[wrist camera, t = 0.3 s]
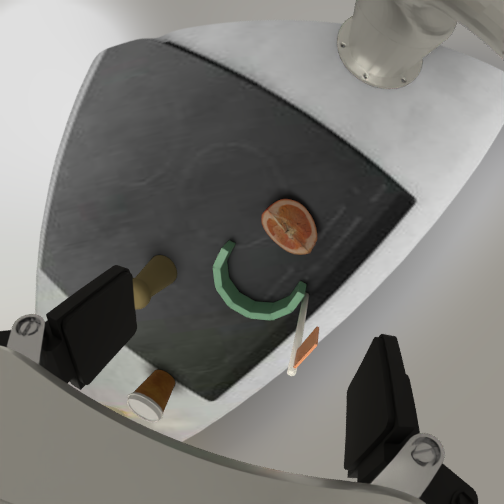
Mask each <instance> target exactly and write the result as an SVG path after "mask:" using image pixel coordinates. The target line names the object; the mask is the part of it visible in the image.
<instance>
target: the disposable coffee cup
mask: <svg viewBox="0 0 504 504" xmlns="http://www.w3.org/2000/svg"><path fill="white" fill-rule="evenodd" d="M174 386H175V380H174V379H173V377H172V376H171V375H170V374H168V373H167V372H165V371H163V370H155V371H154V372H153V373H152V374H151V375H150V376H149V377H148V378H147V379H146V380H145V381H144V382H143V383H142V384H141V385H140V386H139V387H138V388H137V389H136V390H135V391H134V392H133V393H131V394H129V395H128V400H127V405H128V407H129V408H130V409H131V410H132V412H134V413H135V414H136V415H137V416H139V417H140V418H142V419H144V420H146V421H149V422H153V423H155V422H158V421H159V420H161V419H162V418H163V412H164V409H165V407H166V405H167V402H168V400H169V397H170V395H171V393H172V390H173V388H174Z"/></svg>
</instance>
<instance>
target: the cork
mask: <svg viewBox="0 0 504 504" xmlns="http://www.w3.org/2000/svg"><path fill="white" fill-rule="evenodd" d="M176 277H177V270H176V267H175V265H174V263H173V262H172V261H171V260H170V259H169V258H167V257H166V256H163V255H157V256H154V257H153V258H152V259H151V260H150V261H149V263H148V264H147V265H146V266H145V267H144V268H143V269H142V271H141V272H140V273H139V274H138V275H137V276H136V277H135V278H133V290H134V303H135V309H142V308H144V307H145V306H146V305H147V304H148V303H149V301H150V299H151V297H152V296H153V295H155V294H156V293H158V292H159V291H161V290H162V289H164V288H165V287H167V286H168V285H170V284H171V283H173V282H174V281H175V279H176Z"/></svg>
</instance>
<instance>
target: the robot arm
mask: <svg viewBox="0 0 504 504" xmlns="http://www.w3.org/2000/svg"><path fill="white" fill-rule="evenodd" d="M457 22H458V23H460V24H462V25H463V26H464V27H466V28H467V29H468V30H469V31H471V32H472V33H473V34H474V35H476V36H477V37H478V38H479V39H480V40H482V41H483V42H484V43H485V44H486V45H487V46H488V47H490V48H491V49H492V50H493V51H494V52H495V53H496V54H497V55H498V56H499V57H501V59H503V61H504V0H356V3H355V9H354V14H353V16H352V17H350V18H349V19H348V20H346V21H345V22H344V23H343V25H342V26H341V28H340V30H339V33H338V38H337V47H338V53H339V55H340V58H341V60H342V62H343V63H344V65H345V66H346V68H347V69H348V70H349V71H350V72H351V73H352V74H353V75H354V76H355V77H357V78H358V79H359V80H361V81H363V82H364V83H366V84H369V85H371V86H373V87H377V88H381V89H397V88H400V87H404V86H406V85H407V84H409V83H411V82H412V81H413V80H414V79H415V78H416V77H417V76H418V74H419V72H420V70H421V68H422V63H423V58H424V57H425V56H427V55H428V54H429V53H430V52H432V51H433V50H434V49H435V48H437V47H438V46H439V45H441V44H442V43H443V42H444V41H446V40H447V39H448V38H449V37H450V36H451V34H452V33H453V31H454V29H455V26H456V24H457ZM341 46H344V48H342V47H341ZM364 76H366V77H367V79H365V78H364ZM401 79H402V80H403V81H404V82H402V81H401ZM46 316H47V319H48V320H47V321H46V322H45V321H44V319H43V318H42V317H41V316H39V315H36V314H29V315H25V316H22V317H21V318H19V319H17V321H15V323H14V324H13V326H12V330H8V331H0V504H478V497H477V494H476V492H475V491H474V489H473V488H472V487H470V486H469V485H468V484H467V483H465V482H464V481H463V480H462V479H461V478H459V477H458V476H457V475H456V474H455V473H453V472H452V471H451V470H450V469H448V468H447V467H446V466H445V465H444V464H442V463H443V460H444V454H445V452H444V448H443V445H442V444H441V442H440V441H439V440H438V439H437V438H436V437H435V436H433V435H431V434H427V433H420V432H419V426H418V420H417V414H416V408H415V403H414V398H413V393H412V388H411V384H410V379H409V377H408V375H406V374H405V369H404V365H403V360H402V356H401V352H400V348H399V344H398V341H397V338H396V337H395V336H390V335H385V334H381V335H380V336H379V337H375V338H374V339H373V341H372V343H371V345H370V347H369V349H368V351H367V353H366V355H365V357H364V359H363V361H362V363H361V365H360V367H359V369H358V371H357V373H356V374H355V376H354V378H353V380H352V382H351V383H350V385H349V387H348V391H347V413H346V415H347V416H346V440H345V441H346V442H345V459H344V469H345V470H348V478H358V480H357V482H350V481H342V480H334V479H325V478H318V477H312V476H306V475H300V474H294V473H289V472H283V471H279V470H274V469H269V468H264V467H260V466H256V465H252V464H248V463H245V462H241V461H237V460H234V459H230V458H226V457H224V456H220V455H217V454H214V453H211V452H208V451H205V450H202V449H199V448H196V447H193V446H191V445H188V444H185V443H183V442H180V441H178V440H175V439H173V438H170V437H168V436H165V435H163V434H161V433H158V432H156V431H154V430H151V429H149V428H147V427H145V426H143V425H141V424H138V423H136V422H134V421H132V420H130V419H128V418H126V417H124V416H122V415H120V414H118V413H116V412H115V411H113V410H111V409H109V408H107V407H105V406H103V405H102V404H100V403H98V402H96V401H95V400H93V399H91V398H90V397H88V396H86V395H85V394H83V393H81V392H80V391H78V390H76V389H75V388H73V387H72V386H70V385H69V384H67V383H68V382H69V381H70V382H71V384H72V385H74V386H75V387H77V388H79V389H80V390H81V389H82V388H83V387H84V386H85V385H88V384H90V383H91V382H92V381H93V379H94V378H95V377H96V376H97V375H98V374H99V373H100V372H101V371H102V369H103V368H104V367H105V366H106V365H107V364H108V363H109V362H110V361H111V359H112V358H113V357H114V356H115V355H116V354H117V353H118V352H119V351H120V350H121V348H122V347H123V346H124V345H125V344H126V343H127V342H128V341H129V340H130V339H131V338H132V336H133V335H134V334H135V332H136V330H137V323H136V313H135V303H134V290H133V277H132V274H131V273H130V271H129V269H127V268H124V267H121V266H118V265H115V266H113V267H111V268H110V269H108V270H107V271H105V272H104V273H103V274H101V275H100V276H98V277H97V278H95V279H94V280H93V281H91V282H90V283H88V284H87V285H85V286H84V287H83V288H81V289H80V290H78V291H77V292H76V293H74V294H73V295H72V296H70V297H69V298H67V299H66V300H65V301H63V302H62V303H61V304H59V305H58V306H57V307H55V308H54V309H53V310H51V311H50V312H49V313H47V314H46Z"/></svg>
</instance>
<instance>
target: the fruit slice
mask: <svg viewBox="0 0 504 504" xmlns="http://www.w3.org/2000/svg"><path fill="white" fill-rule="evenodd" d="M261 221H262V225H263V227H264V229H265V231H266V232H267V234H268V235H269V236H270V237H271V239H272V240H273V241H275V242H276V243H277V244H278V245H279V246H281V247H282V248H283V249H285V250H286V251H288V252H290V253H294V254H307V253H310V252H311V250H312V248H313V246H314V245H315V242H316V241H317V231H316V226H315V223H314V221H313V219H312V217H311V215H310V213H309V212H308V211H307V209H306V208H305V207H304V206H303V205H302V204H300V203H299V202H296V201H294V200H290V199H281V200H278V201H276V202H274V203H273V204H271V205H270V206H269V207H268V208H267V209H266V210H265V211H264V212H263V214H262V220H261Z"/></svg>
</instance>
